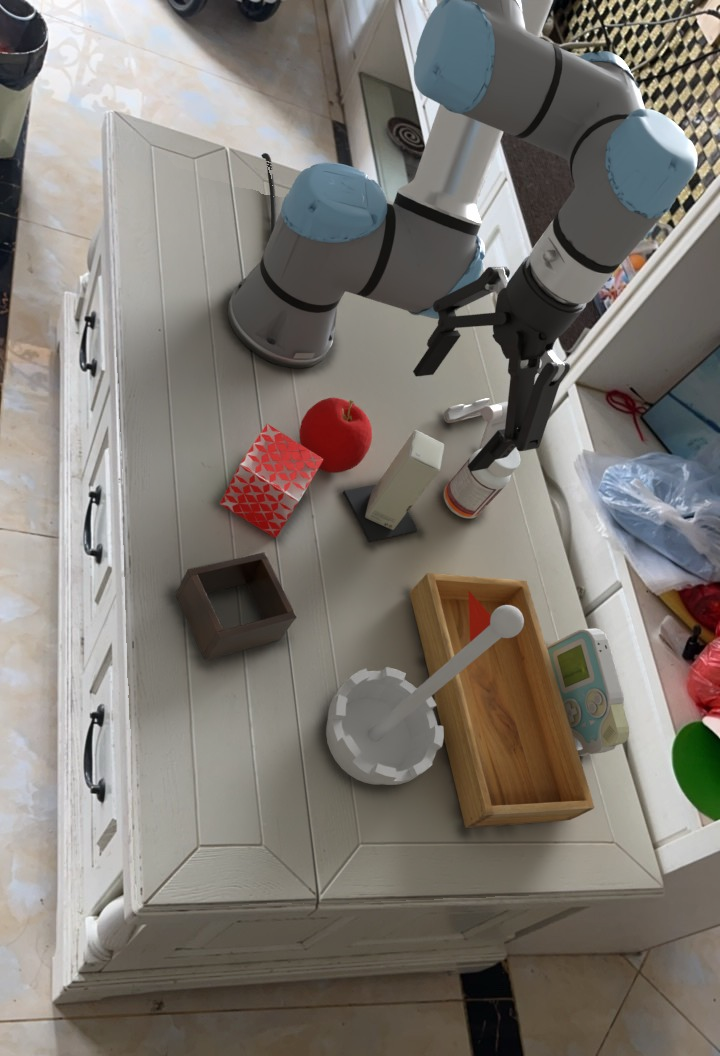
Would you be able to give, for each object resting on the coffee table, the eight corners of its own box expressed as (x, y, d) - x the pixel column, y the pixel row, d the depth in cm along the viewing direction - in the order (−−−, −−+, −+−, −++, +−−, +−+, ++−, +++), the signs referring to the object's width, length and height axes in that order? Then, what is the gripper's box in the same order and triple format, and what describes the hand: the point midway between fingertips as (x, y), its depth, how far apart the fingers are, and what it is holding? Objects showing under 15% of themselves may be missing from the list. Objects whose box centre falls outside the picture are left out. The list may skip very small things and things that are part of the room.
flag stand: (434, 785, 101) (599, 677, 77) (333, 800, 94) (478, 687, 71) (404, 682, 106) (549, 549, 82) (305, 690, 99) (432, 549, 75)
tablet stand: (480, 406, 136) (510, 369, 129) (508, 446, 134) (539, 411, 127) (441, 416, 131) (470, 377, 124) (469, 458, 129) (500, 421, 122)
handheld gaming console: (560, 763, 113) (532, 652, 116) (577, 761, 114) (548, 651, 118) (620, 744, 103) (587, 624, 107) (638, 742, 105) (604, 623, 108)
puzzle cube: (246, 463, 111) (267, 423, 104) (300, 496, 112) (323, 459, 106) (219, 504, 106) (239, 464, 100) (275, 538, 107) (298, 501, 101)
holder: (174, 594, 98) (187, 569, 93) (249, 576, 103) (264, 551, 99) (205, 661, 96) (219, 638, 91) (280, 639, 101) (297, 617, 97)
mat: (342, 492, 115) (344, 490, 115) (389, 483, 120) (391, 481, 119) (369, 543, 113) (371, 541, 113) (416, 532, 118) (418, 530, 117)
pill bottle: (470, 483, 127) (514, 433, 118) (485, 519, 125) (531, 471, 116) (435, 484, 124) (477, 433, 115) (450, 521, 121) (494, 472, 112)
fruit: (363, 454, 120) (396, 406, 112) (340, 495, 115) (372, 448, 107) (306, 416, 119) (335, 365, 111) (279, 457, 114) (307, 406, 106)
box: (393, 532, 115) (440, 473, 105) (363, 518, 114) (408, 457, 104) (399, 503, 118) (446, 443, 108) (370, 489, 117) (415, 427, 107)
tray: (407, 593, 112) (428, 570, 108) (505, 600, 119) (528, 578, 114) (460, 830, 99) (486, 815, 95) (566, 822, 106) (595, 808, 102)
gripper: (469, 182, 86) (376, 337, 103) (598, 384, 80) (476, 514, 97) (523, 185, 90) (425, 333, 107) (649, 377, 84) (524, 503, 101)
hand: (449, 419), depth 102 cm, fingers open, 13 cm apart
